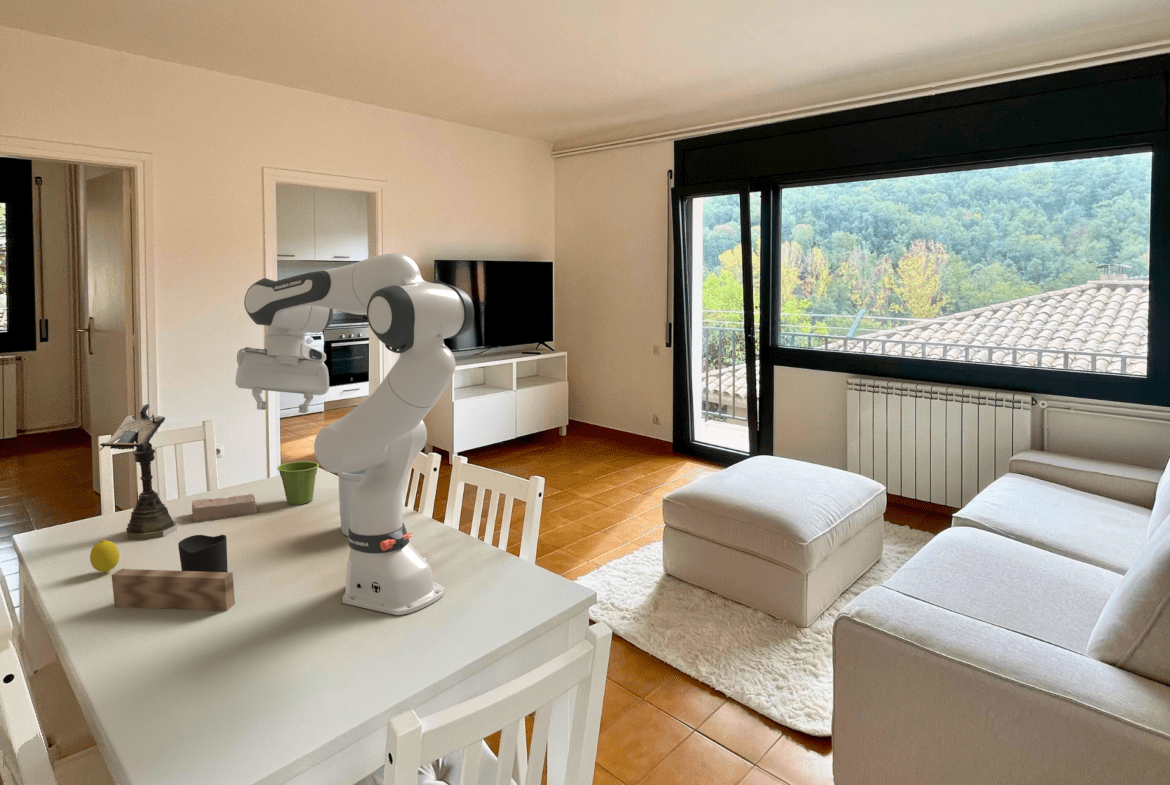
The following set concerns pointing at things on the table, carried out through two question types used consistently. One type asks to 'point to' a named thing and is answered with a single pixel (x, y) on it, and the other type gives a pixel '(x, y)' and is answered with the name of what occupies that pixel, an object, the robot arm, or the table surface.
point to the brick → (223, 507)
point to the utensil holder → (347, 495)
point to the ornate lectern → (143, 477)
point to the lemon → (104, 556)
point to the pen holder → (203, 553)
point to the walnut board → (173, 589)
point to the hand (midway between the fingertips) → (282, 411)
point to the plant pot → (298, 481)
